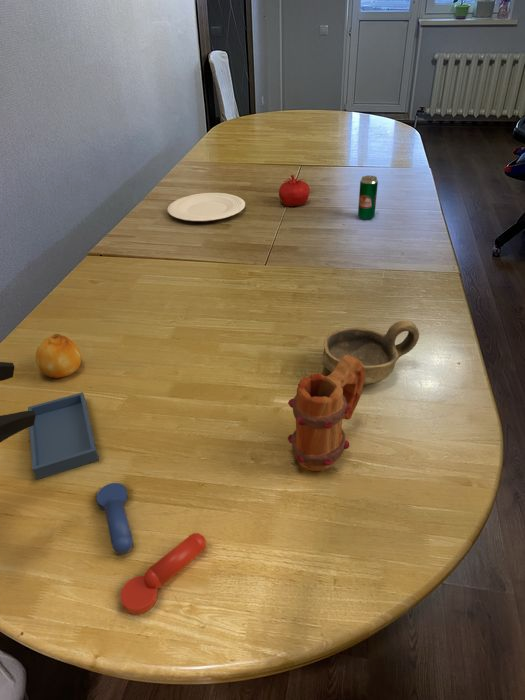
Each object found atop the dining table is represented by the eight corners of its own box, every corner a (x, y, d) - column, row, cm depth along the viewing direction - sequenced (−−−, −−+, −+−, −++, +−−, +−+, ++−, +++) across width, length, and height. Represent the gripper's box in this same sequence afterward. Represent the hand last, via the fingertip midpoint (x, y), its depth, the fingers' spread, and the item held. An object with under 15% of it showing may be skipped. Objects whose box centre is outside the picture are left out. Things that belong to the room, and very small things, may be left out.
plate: (233, 228, 154) (233, 222, 153) (155, 223, 159) (154, 217, 158) (254, 199, 174) (253, 194, 173) (184, 196, 179) (183, 190, 178)
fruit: (97, 354, 100) (68, 322, 96) (70, 382, 94) (39, 349, 91) (74, 363, 105) (46, 333, 101) (47, 390, 99) (17, 359, 96)
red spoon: (194, 533, 69) (192, 521, 67) (215, 553, 67) (213, 541, 65) (115, 597, 62) (111, 585, 61) (135, 622, 60) (130, 610, 58)
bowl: (313, 353, 101) (314, 310, 95) (401, 345, 102) (407, 302, 96) (328, 399, 90) (330, 353, 84) (426, 390, 91) (435, 344, 85)
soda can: (354, 218, 157) (357, 178, 150) (362, 213, 160) (365, 174, 153) (369, 221, 154) (373, 181, 147) (377, 216, 158) (381, 176, 151)
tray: (98, 460, 80) (95, 450, 79) (36, 479, 78) (32, 469, 76) (86, 401, 92) (83, 391, 90) (31, 416, 89) (27, 406, 88)
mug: (318, 489, 74) (322, 411, 65) (277, 460, 79) (275, 384, 70) (376, 435, 83) (386, 360, 74) (335, 412, 87) (340, 338, 79)
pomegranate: (312, 207, 166) (312, 178, 160) (281, 210, 165) (281, 180, 159) (306, 197, 174) (306, 169, 168) (276, 199, 173) (276, 171, 167)
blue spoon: (142, 551, 67) (139, 539, 66) (109, 563, 66) (105, 552, 64) (124, 484, 76) (121, 472, 75) (96, 493, 75) (92, 481, 74)
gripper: (-104, 455, 47) (48, 420, 56) (-133, 343, 54) (7, 327, 62) (-100, 495, 51) (40, 456, 60) (-128, 387, 58) (2, 366, 67)
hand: (23, 393), depth 61 cm, fingers open, 7 cm apart
